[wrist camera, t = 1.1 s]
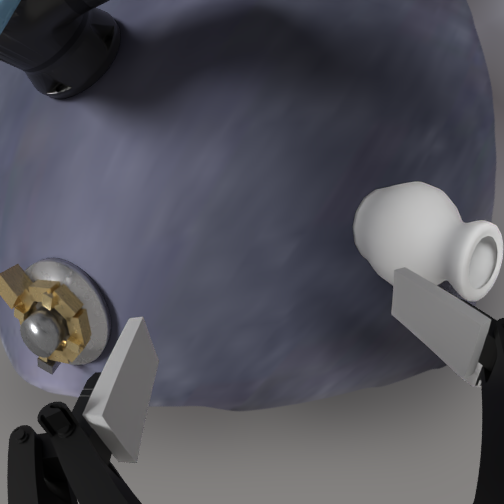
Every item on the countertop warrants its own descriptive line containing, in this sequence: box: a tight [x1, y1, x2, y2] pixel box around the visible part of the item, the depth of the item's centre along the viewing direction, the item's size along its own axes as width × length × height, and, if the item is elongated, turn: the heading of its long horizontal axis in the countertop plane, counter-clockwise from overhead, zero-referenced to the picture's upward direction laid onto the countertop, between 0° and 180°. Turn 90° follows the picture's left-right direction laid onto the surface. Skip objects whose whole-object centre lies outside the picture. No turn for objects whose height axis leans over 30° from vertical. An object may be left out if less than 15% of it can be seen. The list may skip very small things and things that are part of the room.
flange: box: [20, 258, 111, 375], centre depth 32 cm, size 18×18×9 cm
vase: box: [352, 181, 503, 301], centre depth 30 cm, size 14×14×20 cm
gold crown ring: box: [0, 264, 92, 364], centre depth 32 cm, size 17×12×5 cm
